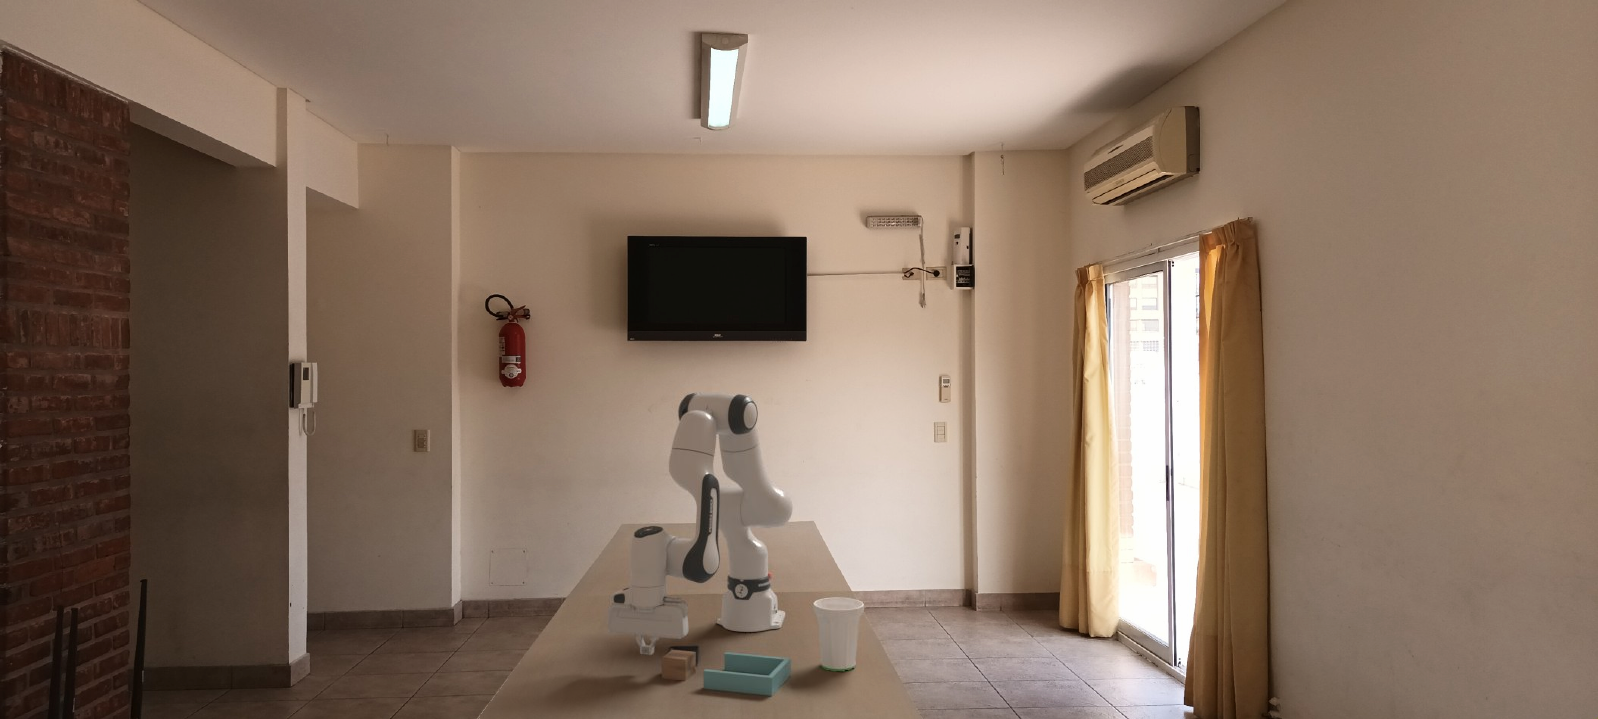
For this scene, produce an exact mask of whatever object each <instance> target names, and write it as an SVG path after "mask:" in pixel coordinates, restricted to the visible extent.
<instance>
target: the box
mask: <svg viewBox="0 0 1598 719" xmlns="http://www.w3.org/2000/svg"><path fill="white" fill-rule="evenodd" d="M723 656H724V657H723V658H724V660H723V661H724V662H723V663H724V664H723V666H724V668H723V669H724V670H717V669H709V668H708V669H707V668H705V669H704V670H703V683H702V684H703V685H702V686H703V687H702V688H703V690H704V689H705V690H714V691H723V692H724V691H725V692H733V693H740V694H741V693H743V694H751V695H761V696H769V697H770V696H771V697H773V695H775V694H776V692H777V691H778V690H779V689H780V688H781V687H782V686H783V685H784V683H786V681H787V680H788V679H789V678H790V677H791V676H792V658H791V657H790V658H789V657H780V656H769V655H759V654H748V653H739V652H727V651H726V652H725V653H724V654H723ZM790 675H791V676H790ZM789 676H790V677H789ZM788 677H789V678H788ZM780 686H781V687H780Z"/></svg>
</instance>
